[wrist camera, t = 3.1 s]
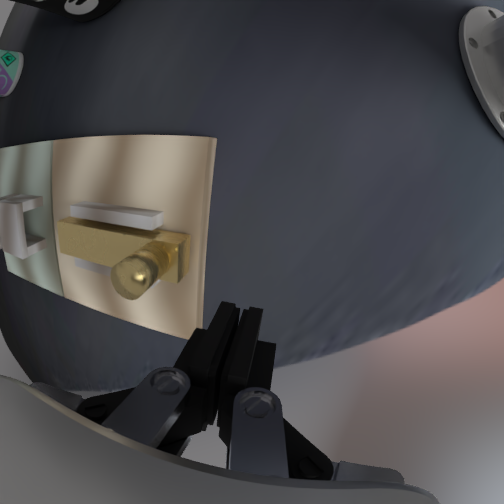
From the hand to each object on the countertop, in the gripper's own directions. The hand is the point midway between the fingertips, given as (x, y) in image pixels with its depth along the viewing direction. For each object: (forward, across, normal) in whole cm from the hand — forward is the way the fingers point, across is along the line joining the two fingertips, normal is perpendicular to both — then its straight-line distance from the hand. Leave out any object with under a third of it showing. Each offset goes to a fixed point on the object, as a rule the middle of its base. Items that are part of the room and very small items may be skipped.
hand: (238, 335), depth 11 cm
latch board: (+8, +16, -1) cm, 18 cm away
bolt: (+6, +9, -1) cm, 11 cm away
